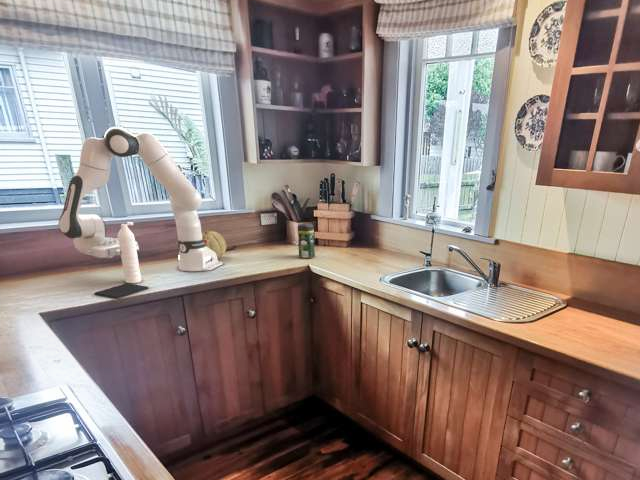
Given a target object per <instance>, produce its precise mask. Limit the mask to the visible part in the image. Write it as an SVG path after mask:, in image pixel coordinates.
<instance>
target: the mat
mask: <svg viewBox="0 0 640 480" xmlns="http://www.w3.org/2000/svg"><path fill="white" fill-rule="evenodd" d="M148 289H149V286H146V285H140V284H136V283H127V282H125V283H122V284H119V285H115V286H112V287H109V288H106V289H103V290H99V291H95V292H94V294H95V295H96V296H101V297H105V298H112V299H120V298H124V297H126V296H130V295H133V294H136V293H138V292H142V291H145V290H148Z"/></svg>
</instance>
